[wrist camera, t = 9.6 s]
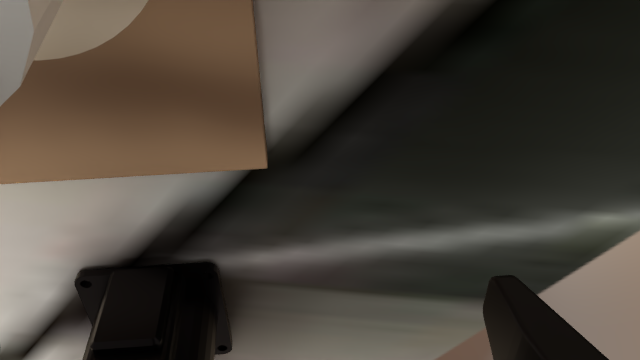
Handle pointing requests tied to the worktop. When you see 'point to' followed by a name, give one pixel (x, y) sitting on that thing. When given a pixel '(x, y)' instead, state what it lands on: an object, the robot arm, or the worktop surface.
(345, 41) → the worktop surface
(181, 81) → the serving board
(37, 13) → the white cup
